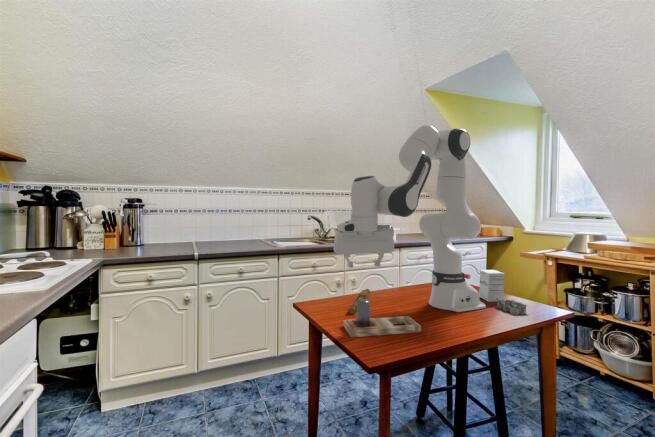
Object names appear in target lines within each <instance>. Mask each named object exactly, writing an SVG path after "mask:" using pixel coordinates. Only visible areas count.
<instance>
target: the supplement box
mask: <svg viewBox="0 0 655 437" xmlns="http://www.w3.org/2000/svg"><path fill="white" fill-rule="evenodd" d="M504 288H505V272H501V271H499V270H496V269H480V270H479V290H478V293H479V298H481V299H482V300H484V301H485V302H488V303H489V302H491V303H492V302H493V303H498V301H499V300H497V299H496V298H498V299H500V300H501V301H503V300H504V292H505V290H504Z"/></svg>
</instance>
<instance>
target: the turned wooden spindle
mask: <svg viewBox="0 0 655 437" xmlns="http://www.w3.org/2000/svg"><path fill="white" fill-rule="evenodd" d="M370 294H371V290H370V289H369V288H366V289H362V290H361V291H360V292H359V294H358V297H357V298H358V299H356V300H355V301H354V302H353V303H352V304H351V305H350V307H349V308H347V312H348V314H349V315H355V313H357V300H359V299H367V300H369V298H370ZM368 297H369V298H368Z"/></svg>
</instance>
